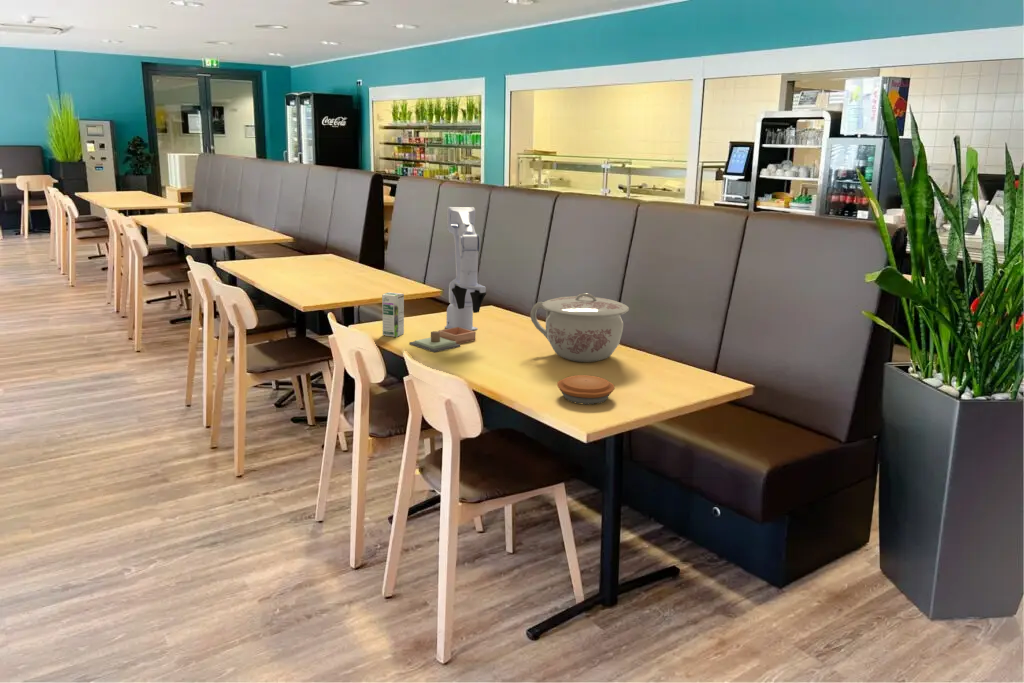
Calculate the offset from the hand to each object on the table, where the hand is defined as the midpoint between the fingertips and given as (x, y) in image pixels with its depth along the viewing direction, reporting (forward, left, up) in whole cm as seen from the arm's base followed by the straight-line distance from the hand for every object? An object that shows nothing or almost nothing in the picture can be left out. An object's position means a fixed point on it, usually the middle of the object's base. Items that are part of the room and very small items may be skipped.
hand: (468, 310), depth 262 cm
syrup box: (-22, -15, -11) cm, 29 cm away
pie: (+65, -16, -11) cm, 68 cm away
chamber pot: (+38, +15, -11) cm, 42 cm away
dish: (-3, -3, -10) cm, 11 cm away
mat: (-2, -13, -10) cm, 17 cm away
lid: (-2, -13, -10) cm, 16 cm away
